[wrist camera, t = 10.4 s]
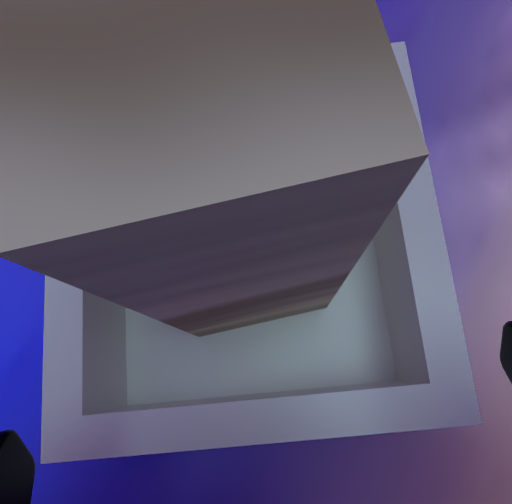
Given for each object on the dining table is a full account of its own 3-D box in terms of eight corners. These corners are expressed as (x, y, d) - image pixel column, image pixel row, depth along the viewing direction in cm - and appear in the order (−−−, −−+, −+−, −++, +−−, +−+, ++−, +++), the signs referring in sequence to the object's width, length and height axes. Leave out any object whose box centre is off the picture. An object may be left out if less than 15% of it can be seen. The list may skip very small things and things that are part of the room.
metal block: (326, 307, 18) (429, 154, 5) (199, 337, 18) (-7, 254, 5) (295, 189, 19) (317, -165, 6) (176, 216, 19) (-33, -84, 6)
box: (427, 409, 18) (482, 424, 13) (106, 439, 18) (40, 463, 13) (376, 118, 21) (404, 41, 16) (103, 149, 21) (50, 83, 16)
